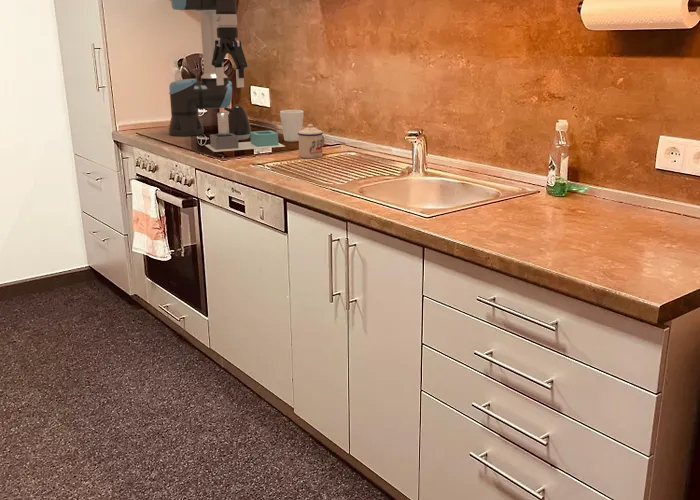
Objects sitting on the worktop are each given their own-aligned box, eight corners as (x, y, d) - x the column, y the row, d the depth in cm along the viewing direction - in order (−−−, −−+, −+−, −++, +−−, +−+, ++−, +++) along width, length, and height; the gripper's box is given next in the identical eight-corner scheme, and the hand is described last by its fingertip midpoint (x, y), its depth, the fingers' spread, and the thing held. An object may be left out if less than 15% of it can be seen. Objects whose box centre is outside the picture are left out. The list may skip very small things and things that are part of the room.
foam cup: (282, 146, 277) (281, 113, 273) (279, 142, 286) (278, 110, 282) (306, 145, 279) (305, 112, 275) (302, 141, 288) (301, 109, 284)
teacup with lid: (311, 159, 250) (311, 127, 247) (293, 156, 256) (292, 124, 252) (333, 154, 259) (332, 123, 256) (314, 152, 265) (314, 121, 261)
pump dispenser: (222, 141, 289) (220, 104, 284) (247, 139, 293) (245, 102, 288) (229, 144, 280) (227, 106, 275) (254, 143, 284) (252, 105, 279)
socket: (250, 143, 274) (250, 131, 273) (271, 141, 278) (271, 130, 276) (257, 146, 267) (256, 135, 266) (278, 145, 270) (278, 133, 269)
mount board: (204, 148, 271) (203, 133, 269) (272, 143, 282) (272, 128, 280) (214, 155, 257) (213, 139, 255) (285, 150, 268) (285, 134, 266)
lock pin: (218, 146, 267) (216, 112, 263) (228, 145, 269) (226, 112, 264) (220, 148, 264) (218, 113, 259) (231, 147, 265) (229, 113, 261)
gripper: (200, 26, 260) (203, 84, 266) (237, 26, 242) (240, 88, 249) (217, 26, 265) (220, 83, 271) (255, 26, 247) (257, 87, 254)
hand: (230, 86), depth 260 cm, fingers open, 13 cm apart
